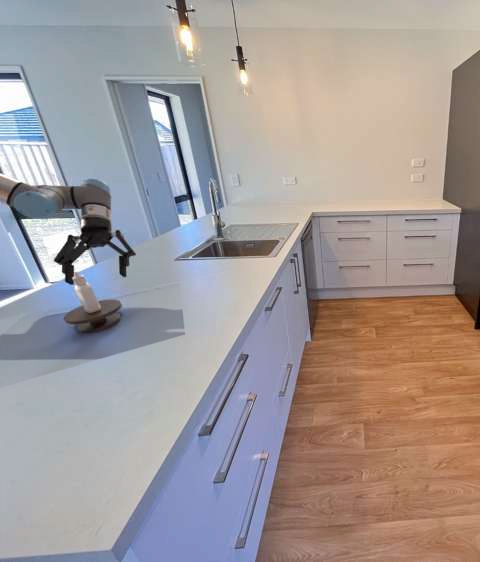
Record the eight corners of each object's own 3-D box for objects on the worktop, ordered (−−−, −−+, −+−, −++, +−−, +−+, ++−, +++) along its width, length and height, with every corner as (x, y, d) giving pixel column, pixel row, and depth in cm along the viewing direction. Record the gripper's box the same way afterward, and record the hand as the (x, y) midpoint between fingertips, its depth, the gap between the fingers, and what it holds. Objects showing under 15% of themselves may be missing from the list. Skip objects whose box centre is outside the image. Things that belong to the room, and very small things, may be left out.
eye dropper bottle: (80, 315, 86) (60, 277, 80) (87, 307, 90) (69, 270, 85) (99, 312, 87) (81, 274, 82) (105, 303, 92) (89, 267, 87)
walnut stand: (66, 341, 83) (57, 326, 80) (76, 321, 93) (69, 307, 90) (124, 326, 89) (118, 312, 87) (128, 308, 99) (123, 295, 97)
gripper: (39, 219, 93) (35, 281, 86) (135, 211, 101) (138, 267, 95) (56, 232, 99) (54, 290, 93) (145, 223, 108) (148, 276, 101)
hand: (96, 279), depth 94 cm, fingers open, 13 cm apart
